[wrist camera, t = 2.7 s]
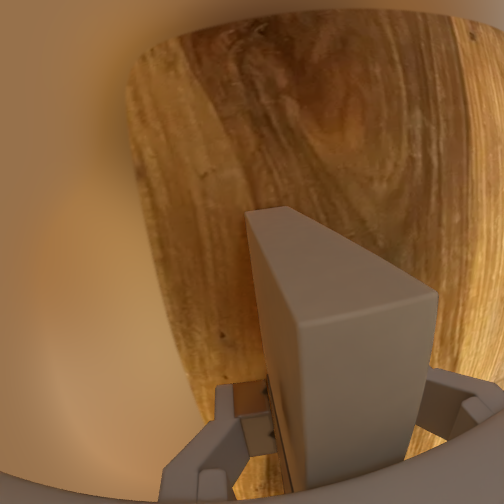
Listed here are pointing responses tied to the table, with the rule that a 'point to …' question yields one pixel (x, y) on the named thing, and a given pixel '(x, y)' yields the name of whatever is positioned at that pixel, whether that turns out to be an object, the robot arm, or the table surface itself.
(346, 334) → the brown flat block
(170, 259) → the table surface
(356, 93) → the table surface
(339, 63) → the table surface
